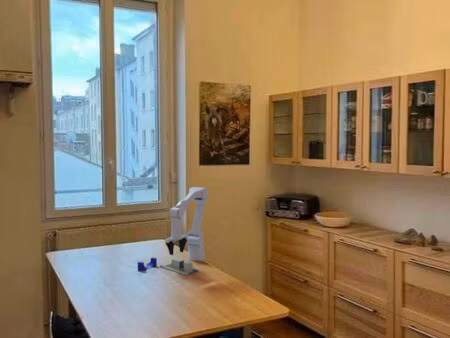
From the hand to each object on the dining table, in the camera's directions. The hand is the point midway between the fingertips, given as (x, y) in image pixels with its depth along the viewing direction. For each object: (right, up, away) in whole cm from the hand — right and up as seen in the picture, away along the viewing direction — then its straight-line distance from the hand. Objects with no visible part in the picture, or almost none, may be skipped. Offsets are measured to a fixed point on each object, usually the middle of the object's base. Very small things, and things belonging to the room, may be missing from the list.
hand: (176, 253), depth 258 cm
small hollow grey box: (+7, -9, -8) cm, 14 cm away
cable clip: (-17, -10, 0) cm, 19 cm away
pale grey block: (+1, -8, -2) cm, 8 cm away
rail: (+2, -10, -3) cm, 10 cm away
